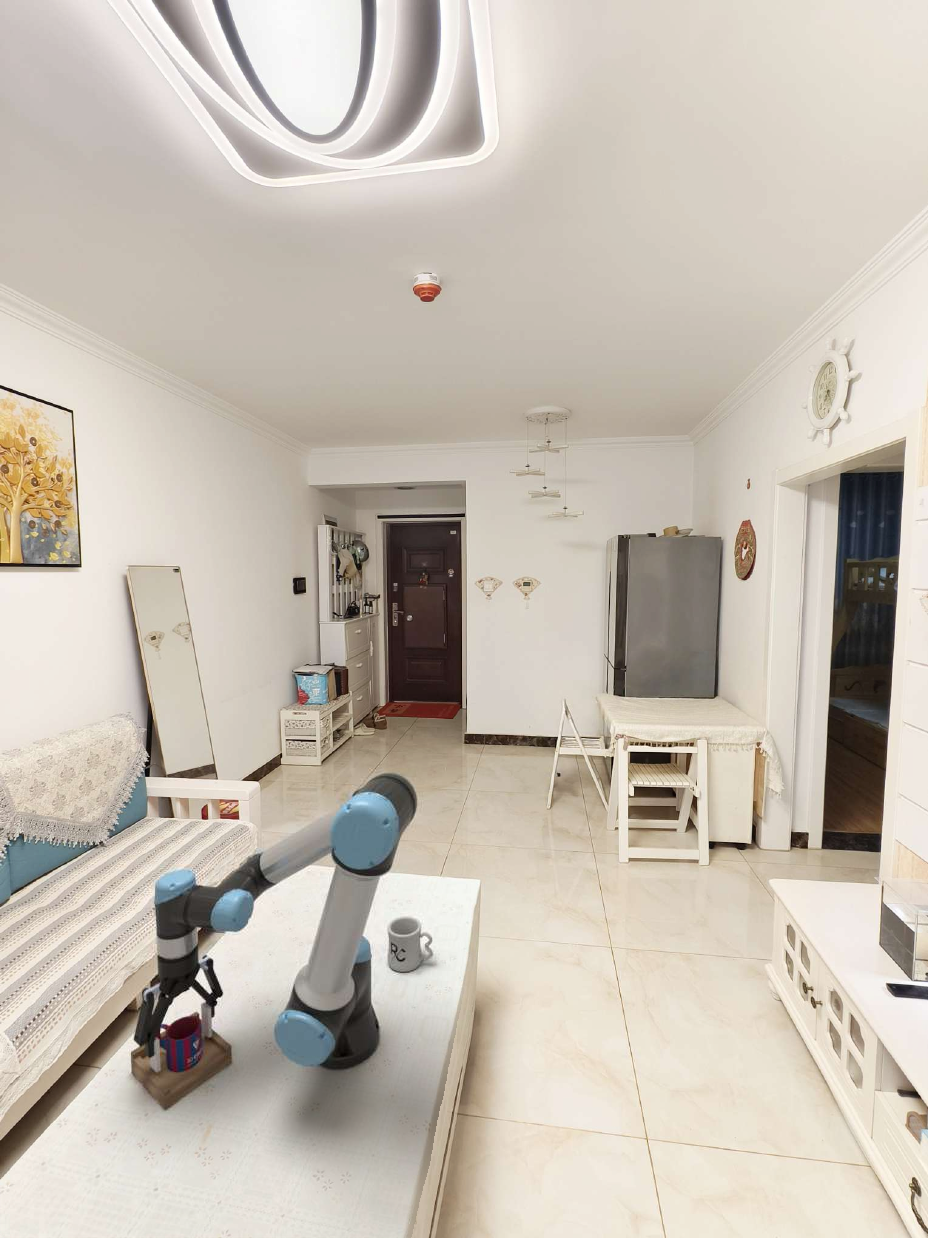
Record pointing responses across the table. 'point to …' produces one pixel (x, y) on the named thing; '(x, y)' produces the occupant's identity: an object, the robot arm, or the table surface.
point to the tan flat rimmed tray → (178, 1084)
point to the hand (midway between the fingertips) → (182, 1050)
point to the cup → (182, 1043)
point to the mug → (406, 944)
